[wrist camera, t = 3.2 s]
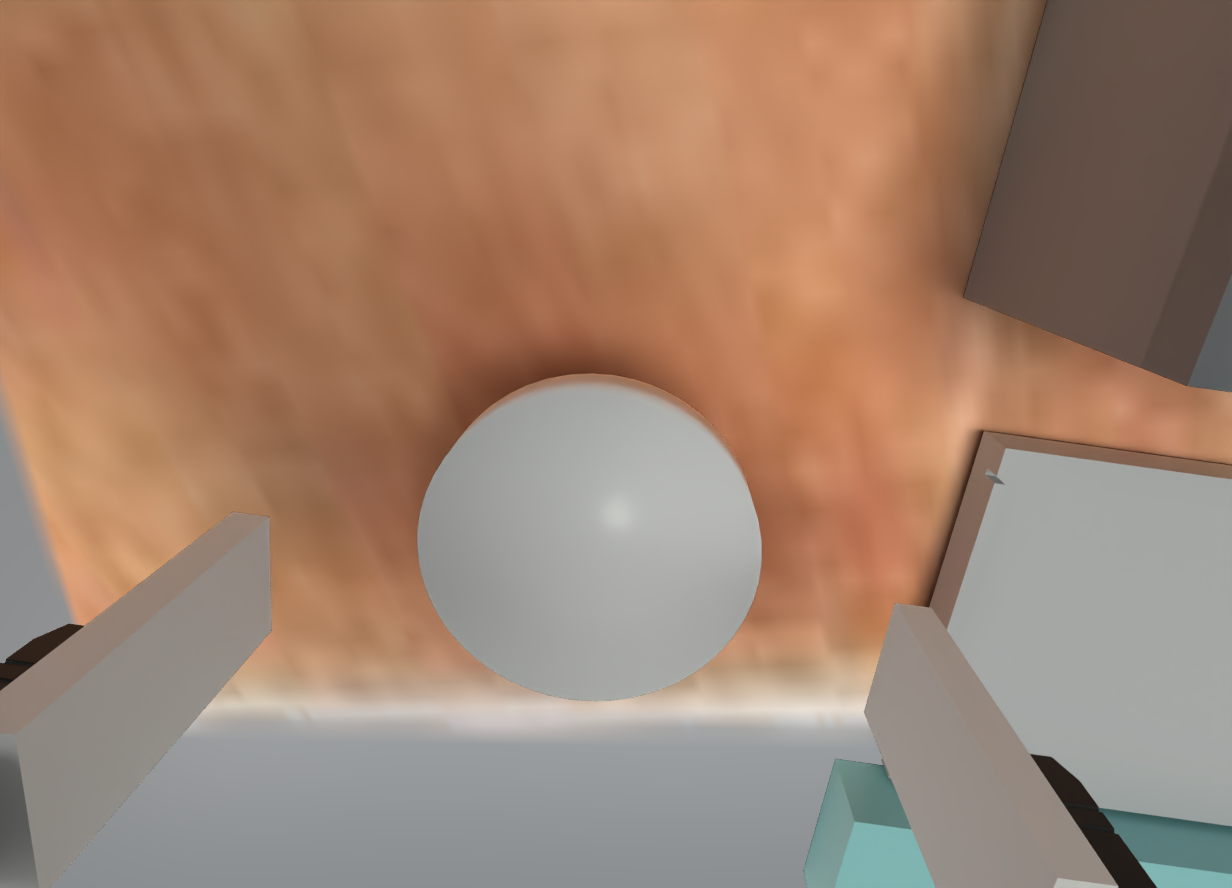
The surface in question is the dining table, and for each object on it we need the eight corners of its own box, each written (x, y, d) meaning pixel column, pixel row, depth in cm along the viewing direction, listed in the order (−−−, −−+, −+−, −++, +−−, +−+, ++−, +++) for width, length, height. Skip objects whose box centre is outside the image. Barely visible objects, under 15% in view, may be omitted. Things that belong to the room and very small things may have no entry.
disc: (444, 351, 18) (424, 367, 16) (782, 398, 18) (794, 419, 16) (428, 640, 20) (410, 677, 19) (722, 681, 20) (728, 721, 19)
